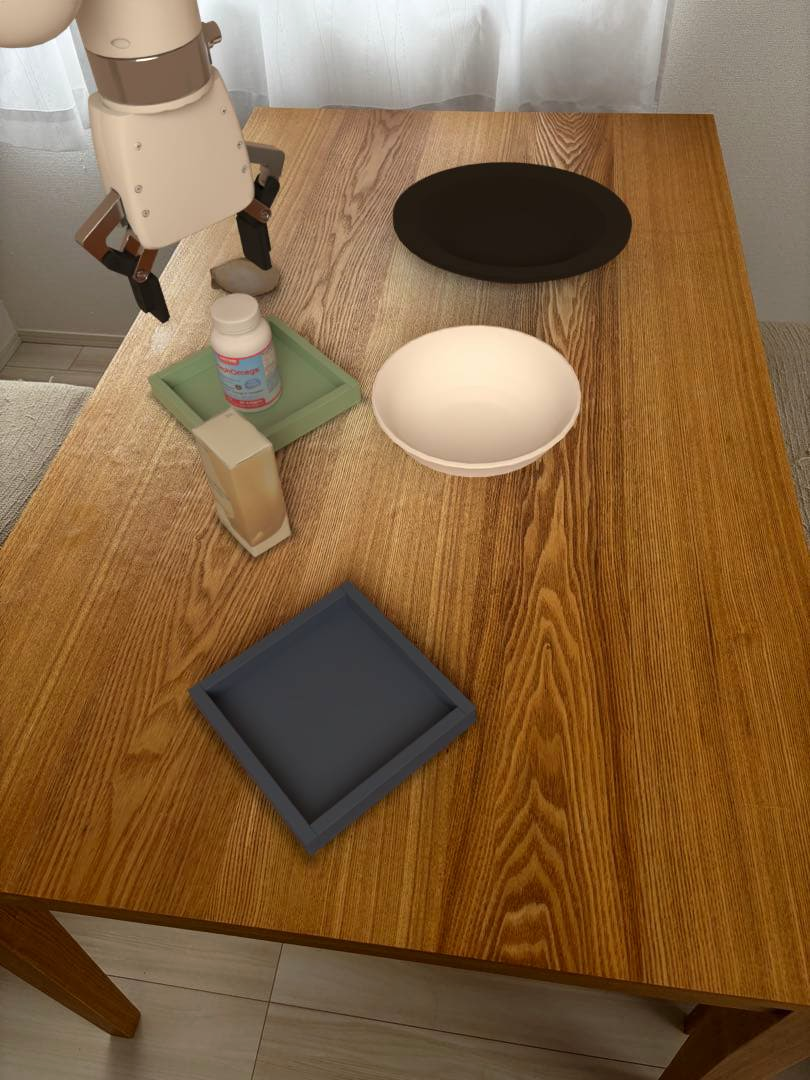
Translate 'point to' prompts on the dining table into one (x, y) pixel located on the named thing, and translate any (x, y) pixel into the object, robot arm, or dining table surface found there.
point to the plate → (512, 222)
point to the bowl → (476, 399)
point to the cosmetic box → (243, 480)
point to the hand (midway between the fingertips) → (209, 288)
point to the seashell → (243, 278)
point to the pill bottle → (244, 353)
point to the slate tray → (331, 713)
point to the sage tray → (302, 406)
